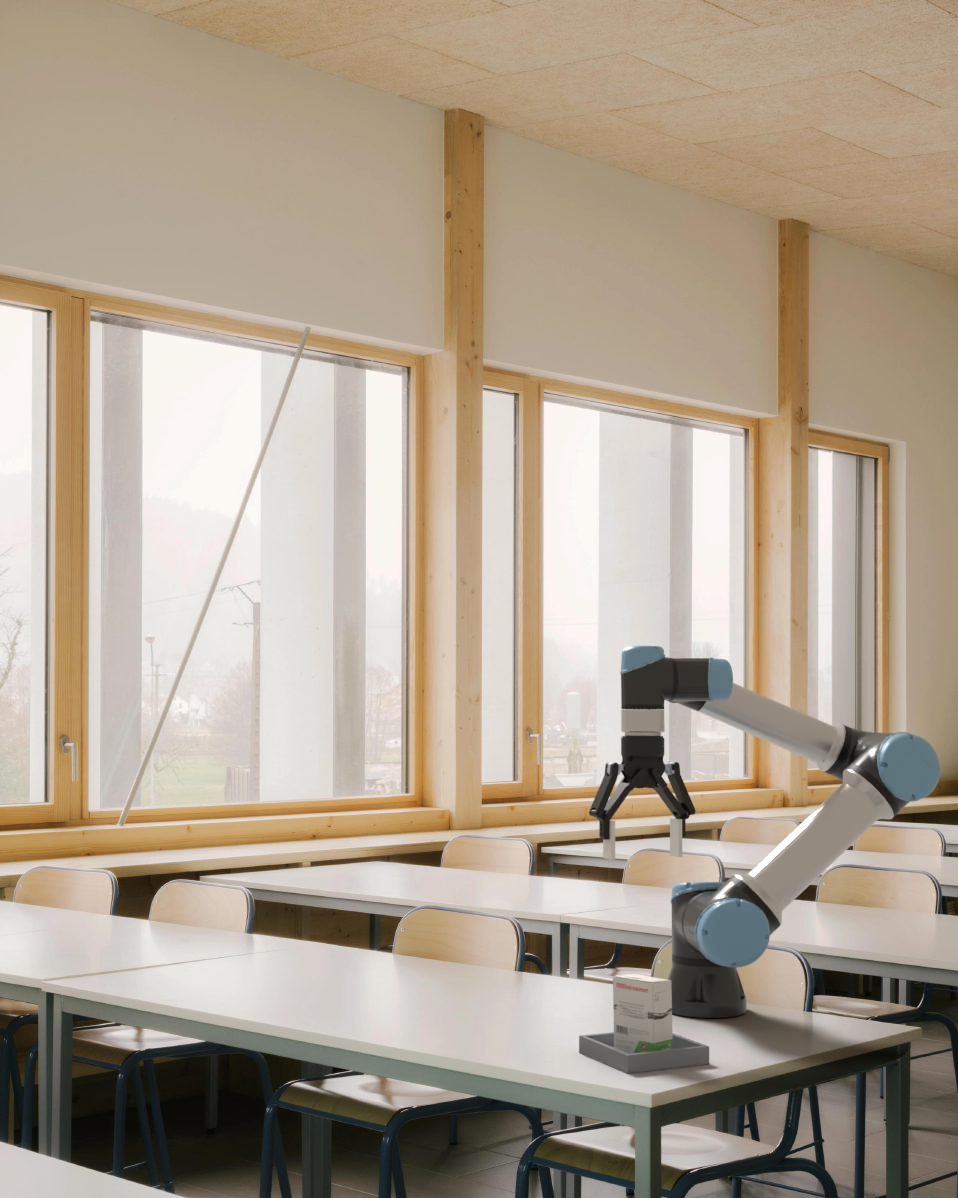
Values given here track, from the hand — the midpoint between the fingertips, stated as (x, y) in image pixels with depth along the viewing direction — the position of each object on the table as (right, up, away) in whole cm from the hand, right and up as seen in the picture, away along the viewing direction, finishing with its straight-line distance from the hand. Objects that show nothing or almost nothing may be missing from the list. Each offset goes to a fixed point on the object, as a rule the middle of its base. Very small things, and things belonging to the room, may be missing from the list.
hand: (643, 858), depth 244 cm
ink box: (-3, -26, -25) cm, 36 cm away
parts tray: (-3, -27, -25) cm, 36 cm away
